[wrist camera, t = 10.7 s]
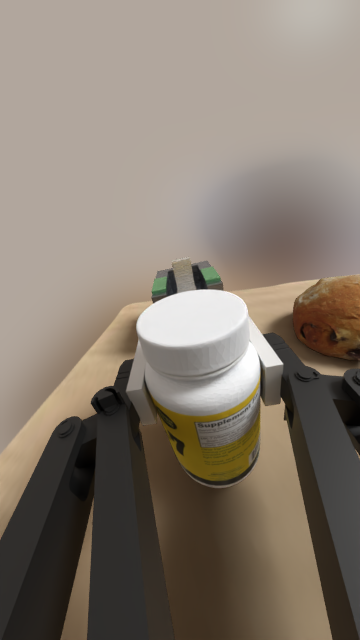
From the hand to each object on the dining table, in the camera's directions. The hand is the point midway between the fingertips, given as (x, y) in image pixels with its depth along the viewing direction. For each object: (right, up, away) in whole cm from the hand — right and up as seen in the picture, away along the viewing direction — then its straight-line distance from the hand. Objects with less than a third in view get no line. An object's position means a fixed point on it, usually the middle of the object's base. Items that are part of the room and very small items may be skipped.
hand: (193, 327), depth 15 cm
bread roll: (+17, -1, +6) cm, 18 cm away
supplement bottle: (+1, -8, -1) cm, 8 cm away
